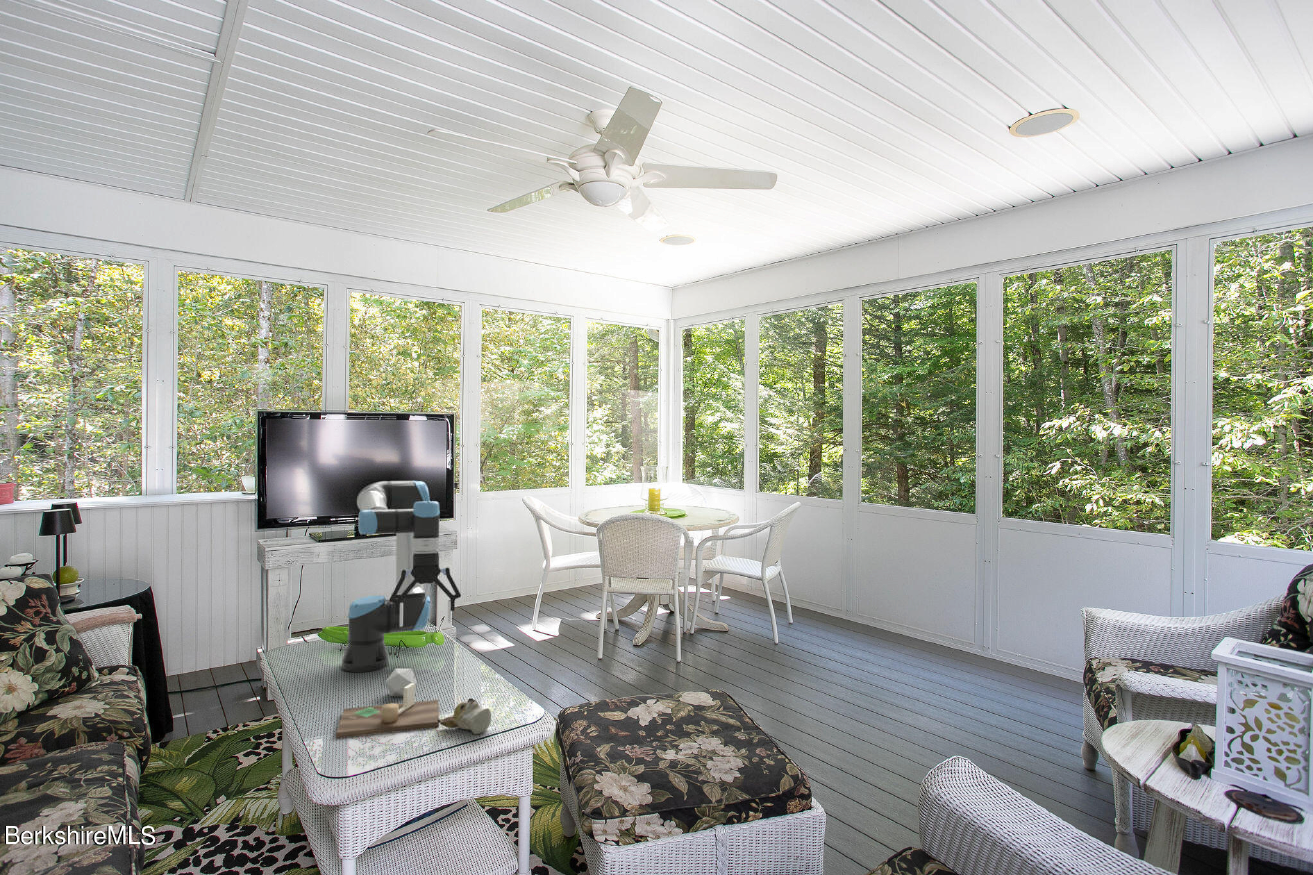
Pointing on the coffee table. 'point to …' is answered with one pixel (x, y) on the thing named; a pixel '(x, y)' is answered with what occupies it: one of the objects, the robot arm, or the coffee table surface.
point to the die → (400, 681)
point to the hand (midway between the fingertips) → (425, 624)
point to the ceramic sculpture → (469, 717)
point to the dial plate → (370, 723)
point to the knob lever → (391, 710)
